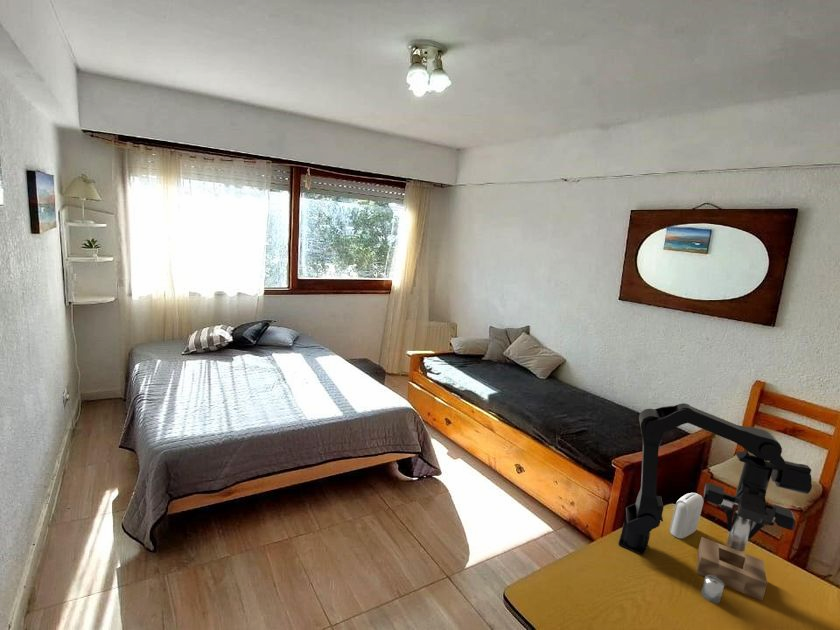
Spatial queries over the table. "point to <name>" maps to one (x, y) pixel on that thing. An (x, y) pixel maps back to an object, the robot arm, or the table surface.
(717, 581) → the short pin
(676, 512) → the white rounded printed block
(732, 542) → the silver upright cylinder
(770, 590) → the table surface
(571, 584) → the table surface
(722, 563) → the hole board
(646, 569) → the table surface
